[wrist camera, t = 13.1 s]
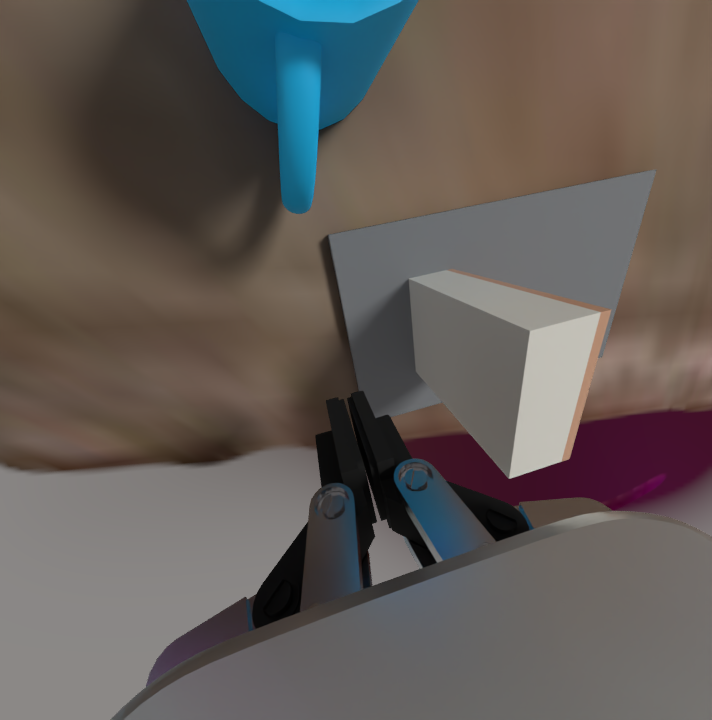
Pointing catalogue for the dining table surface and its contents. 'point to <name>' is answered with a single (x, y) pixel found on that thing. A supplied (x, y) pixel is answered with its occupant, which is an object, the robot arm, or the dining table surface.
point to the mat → (480, 269)
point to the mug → (300, 67)
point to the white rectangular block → (507, 362)
